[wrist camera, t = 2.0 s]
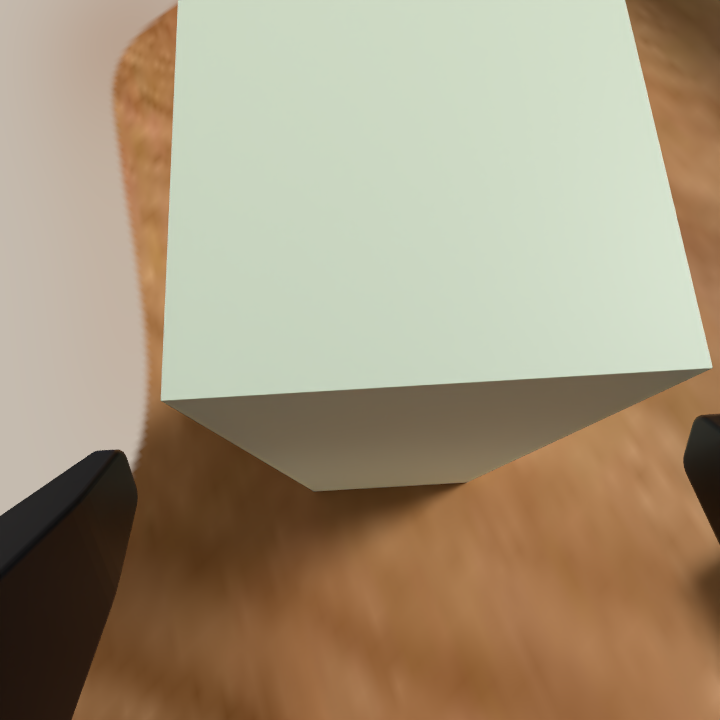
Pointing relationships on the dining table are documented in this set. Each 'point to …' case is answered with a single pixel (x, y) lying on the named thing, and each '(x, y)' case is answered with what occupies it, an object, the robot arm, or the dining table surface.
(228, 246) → the pillar
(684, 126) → the dining table surface
